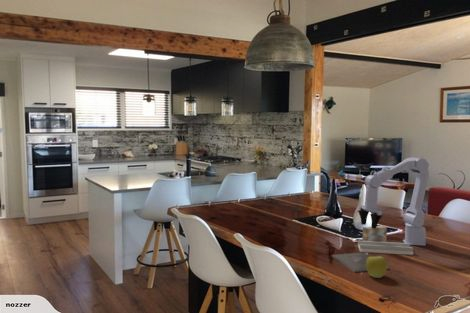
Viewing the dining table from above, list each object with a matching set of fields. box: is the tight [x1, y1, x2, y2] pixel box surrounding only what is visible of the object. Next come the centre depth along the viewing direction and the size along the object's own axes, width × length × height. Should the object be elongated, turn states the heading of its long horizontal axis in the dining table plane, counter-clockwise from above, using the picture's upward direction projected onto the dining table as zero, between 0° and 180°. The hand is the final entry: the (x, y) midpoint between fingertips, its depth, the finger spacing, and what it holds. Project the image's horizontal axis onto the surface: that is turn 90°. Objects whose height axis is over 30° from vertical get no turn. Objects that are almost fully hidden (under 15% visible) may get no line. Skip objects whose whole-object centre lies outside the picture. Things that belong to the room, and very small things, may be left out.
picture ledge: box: [357, 240, 414, 256], centre depth 199 cm, size 24×10×3 cm, turn 79°
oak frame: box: [362, 225, 388, 242], centre depth 212 cm, size 12×3×8 cm, turn 104°
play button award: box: [331, 252, 390, 273], centre depth 181 cm, size 16×2×20 cm
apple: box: [366, 255, 388, 279], centre depth 165 cm, size 8×8×10 cm
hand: (368, 226), depth 205 cm, fingers open, 7 cm apart
